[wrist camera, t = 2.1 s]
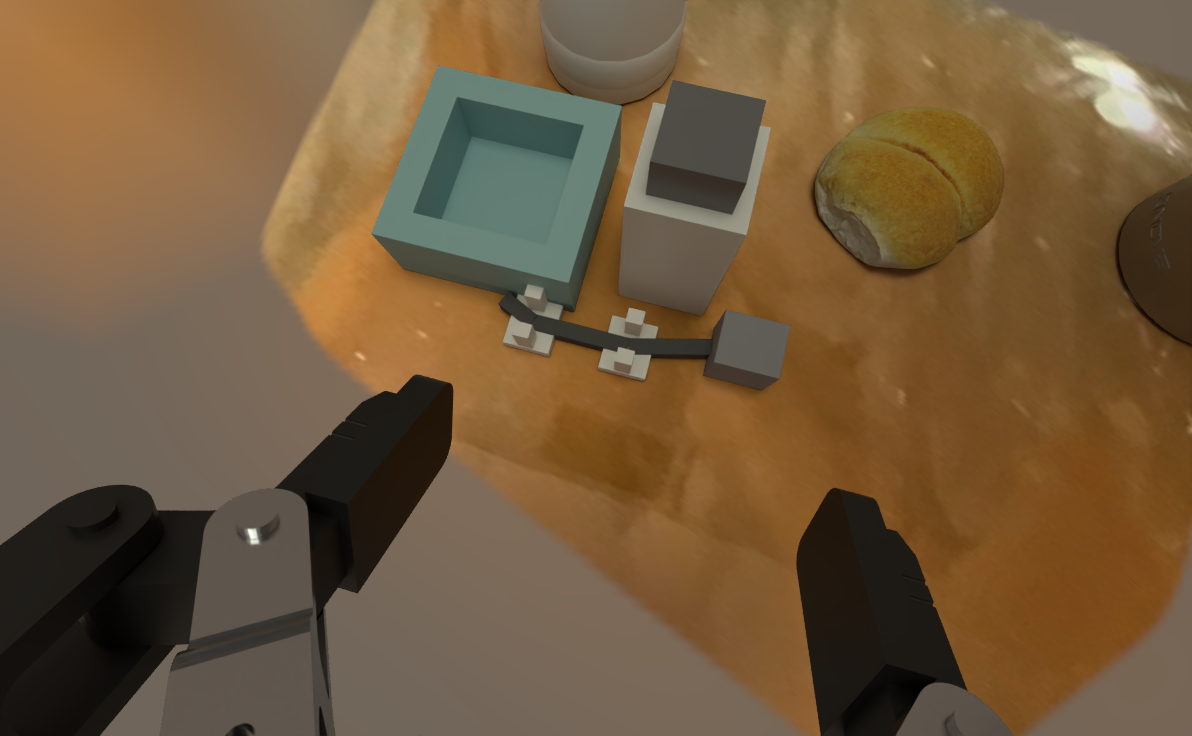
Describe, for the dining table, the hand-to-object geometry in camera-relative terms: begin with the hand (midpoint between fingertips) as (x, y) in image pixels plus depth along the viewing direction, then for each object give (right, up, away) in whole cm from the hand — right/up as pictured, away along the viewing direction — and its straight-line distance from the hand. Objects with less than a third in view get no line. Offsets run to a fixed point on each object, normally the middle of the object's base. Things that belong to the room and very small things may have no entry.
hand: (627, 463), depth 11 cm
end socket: (-5, +11, +18) cm, 21 cm away
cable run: (+1, +3, +16) cm, 16 cm away
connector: (+3, +7, +17) cm, 19 cm away
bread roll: (+16, +11, +18) cm, 26 cm away
